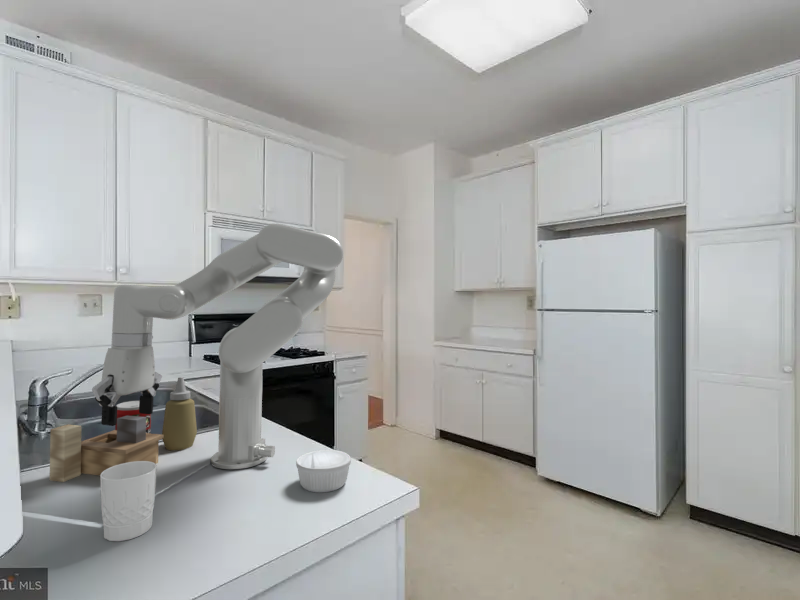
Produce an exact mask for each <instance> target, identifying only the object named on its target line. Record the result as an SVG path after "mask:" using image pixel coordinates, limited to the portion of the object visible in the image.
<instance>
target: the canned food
mask: <svg viewBox="0 0 800 600" xmlns="http://www.w3.org/2000/svg"><path fill="white" fill-rule="evenodd" d="M139 401H140V400H129V401H123V402H121V403H118V404H115V406H117V418H120V417H124V416H127V415H128V416H139V417H146V433H151V432H152V430H151V429H152V425H151V424H152V414H141V413H139ZM114 426H115V428H114V430H117V424H116V425H114ZM151 434H152V433H151Z"/></svg>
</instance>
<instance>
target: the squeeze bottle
mask: <svg viewBox="0 0 800 600" xmlns="http://www.w3.org/2000/svg"><path fill="white" fill-rule="evenodd" d="M195 405H196V403H195V400H193V399H192V398H191V391H190V390H187V387H186V384H185V380H184V377H183V376H181V377H178V378H177V382H176V385H175V389H174V391H171V392H170V393H169V400H168V401H166V403H165V407H164V408H165V409H164V415H163V421H162V422H163V425H162V430H161V435H164V438H163V439H162V443H163V444H164V447H165V449H166V450H168V451H174V452H175V451H181V450H183V451H184V450H187V449H190V448H191V447H193V445H194V443H195V439H196V437H197V433H198V429H197V428H198V427H197V418H196V406H195Z"/></svg>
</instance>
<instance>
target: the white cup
mask: <svg viewBox="0 0 800 600" xmlns="http://www.w3.org/2000/svg"><path fill="white" fill-rule="evenodd" d="M157 470H158V464H157V463H156V464H155V463H153V462H149V461H134V462H127V463H123V464H119V465H115V466H112V467H110V468H108V469H106V470H104V471H103V472H102V473H101V474H100V475H99V476H100V477H99V479H100V503H101V518H102V519H101V520H102V524H103V538H104V539H105V540H107V541H109V542H124V541H129V540H132V539H135V538H138V537H140V536H142V535H144V534H146V532H148V531H150V529H151V527H152V526H153V516H154V515H153V514H154V513H153V512H154V511H153V510H154V507H155V497H156V486H157V473H158V472H157Z"/></svg>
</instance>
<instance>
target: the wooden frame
mask: <svg viewBox="0 0 800 600" xmlns="http://www.w3.org/2000/svg"><path fill="white" fill-rule="evenodd" d="M108 437H112V438H117V440H115V441H112V442H109V443H103V442H97V441H100V440H102V439H105V438H108ZM163 438H164V435H162V433H161V434H159V433H146V417H139V416H128V415H127V416H124V417H120V418H117V430H115V429H113V430H111V431H108V432H105V433H102V434H99V435H96V436H93V437H89V438H87V439H85V440H81V449H85V450H94V451H103V452H112V453H122V454H127V453H129V452H132V451H134V450H136V449H139V448H141V447H144V446H146V445H148V444H151V443H153V442H156V441H158V440H159V441H160V440H163Z"/></svg>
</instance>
